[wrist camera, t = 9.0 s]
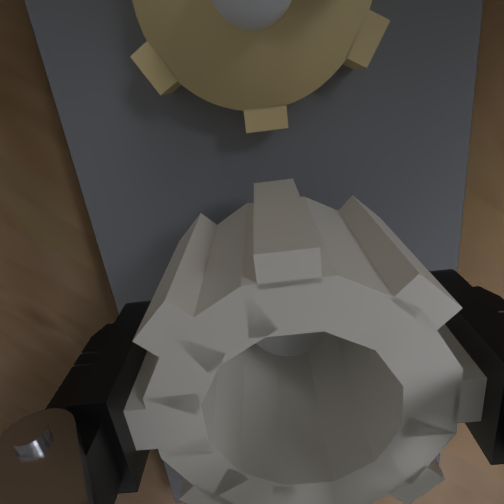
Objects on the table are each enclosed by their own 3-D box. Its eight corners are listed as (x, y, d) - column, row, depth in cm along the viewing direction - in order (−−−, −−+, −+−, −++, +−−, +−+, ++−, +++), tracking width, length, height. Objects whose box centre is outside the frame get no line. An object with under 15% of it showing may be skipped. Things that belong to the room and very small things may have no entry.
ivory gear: (146, 196, 10) (72, 274, 6) (405, 164, 10) (514, 225, 6) (192, 393, 13) (163, 541, 9) (399, 373, 12) (470, 520, 8)
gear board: (4, -159, 10) (-236, -387, 5) (474, -241, 10) (714, -589, 5) (181, 473, 20) (155, 607, 15) (424, 454, 19) (484, 588, 14)
